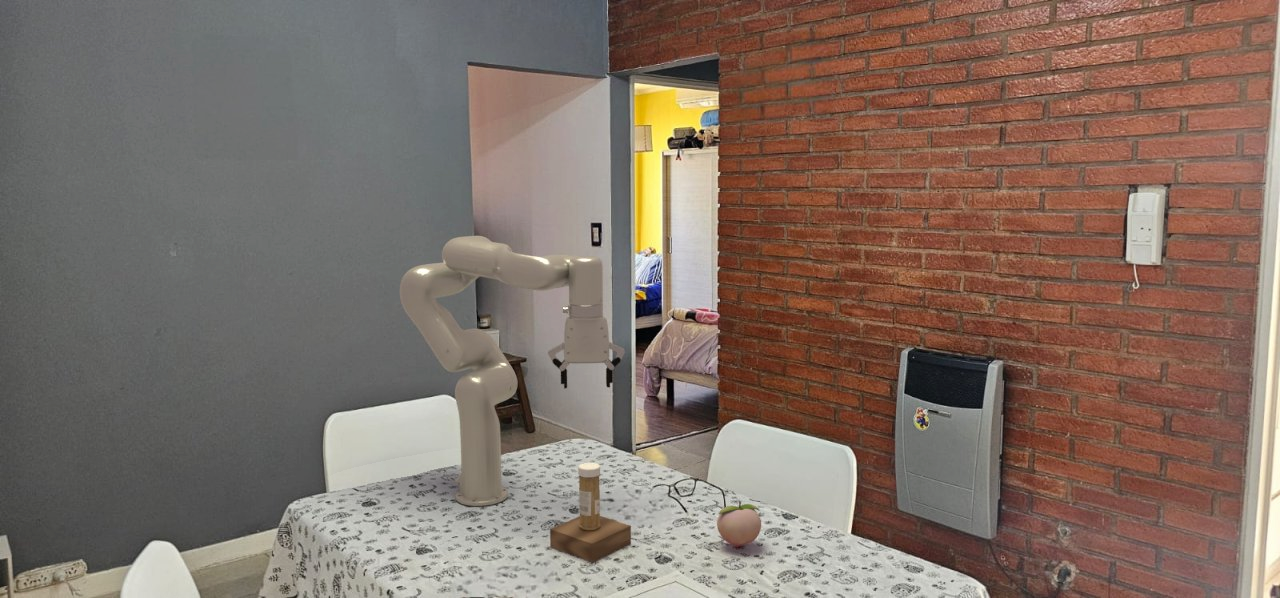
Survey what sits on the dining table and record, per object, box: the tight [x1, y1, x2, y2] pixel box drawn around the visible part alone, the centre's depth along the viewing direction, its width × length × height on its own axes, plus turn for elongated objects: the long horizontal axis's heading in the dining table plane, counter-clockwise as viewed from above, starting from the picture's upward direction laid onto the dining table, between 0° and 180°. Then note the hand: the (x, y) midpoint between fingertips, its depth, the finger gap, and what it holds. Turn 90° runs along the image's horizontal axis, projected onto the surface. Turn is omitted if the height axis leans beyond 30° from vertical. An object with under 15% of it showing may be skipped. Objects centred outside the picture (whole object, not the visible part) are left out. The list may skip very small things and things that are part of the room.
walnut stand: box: [549, 515, 632, 564], centre depth 178 cm, size 12×12×4 cm
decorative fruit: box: [716, 501, 762, 548], centre depth 176 cm, size 9×8×10 cm
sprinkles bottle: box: [577, 462, 601, 531], centre depth 177 cm, size 5×5×13 cm
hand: (586, 386), depth 191 cm, fingers open, 9 cm apart
